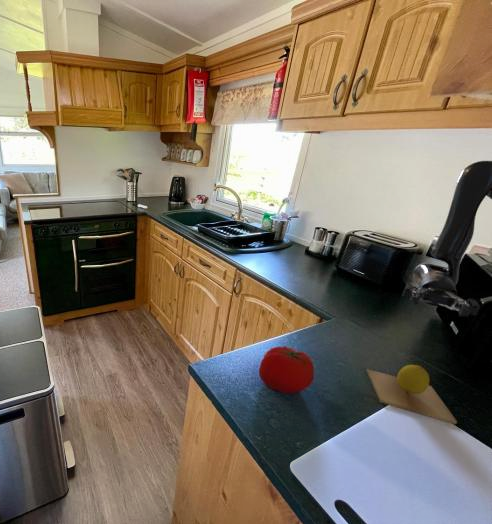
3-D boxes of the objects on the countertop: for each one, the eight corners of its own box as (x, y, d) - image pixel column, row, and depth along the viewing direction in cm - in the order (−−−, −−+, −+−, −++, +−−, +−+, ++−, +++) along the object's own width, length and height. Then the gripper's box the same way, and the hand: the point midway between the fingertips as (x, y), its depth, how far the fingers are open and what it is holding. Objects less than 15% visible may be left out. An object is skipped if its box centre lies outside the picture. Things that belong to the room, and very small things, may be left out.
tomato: (247, 370, 77) (255, 337, 73) (291, 369, 78) (301, 337, 75) (268, 404, 66) (278, 368, 63) (319, 402, 68) (332, 367, 64)
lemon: (388, 387, 73) (400, 361, 70) (399, 381, 75) (410, 356, 72) (415, 404, 68) (429, 377, 65) (425, 396, 71) (439, 370, 68)
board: (430, 388, 75) (431, 385, 74) (456, 424, 64) (457, 422, 64) (365, 371, 79) (366, 368, 79) (380, 402, 69) (381, 399, 69)
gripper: (409, 270, 87) (407, 284, 76) (478, 285, 78) (488, 303, 67) (400, 292, 89) (397, 309, 78) (466, 309, 80) (474, 331, 69)
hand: (439, 306), depth 72 cm, fingers open, 8 cm apart
